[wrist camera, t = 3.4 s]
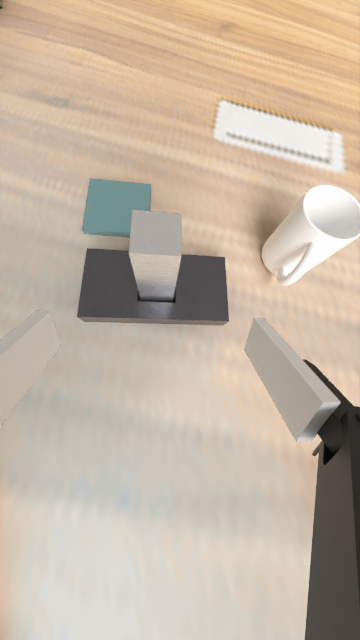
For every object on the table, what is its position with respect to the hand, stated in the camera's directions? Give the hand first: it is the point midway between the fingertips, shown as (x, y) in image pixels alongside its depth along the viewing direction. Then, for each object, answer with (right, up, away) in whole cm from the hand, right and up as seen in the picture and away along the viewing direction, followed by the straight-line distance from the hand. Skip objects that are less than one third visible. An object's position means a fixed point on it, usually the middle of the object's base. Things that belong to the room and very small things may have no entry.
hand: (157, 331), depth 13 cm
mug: (+18, +10, +20) cm, 29 cm away
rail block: (-2, +5, +16) cm, 17 cm away
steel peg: (-2, +5, +16) cm, 17 cm away
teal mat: (-9, +19, +19) cm, 28 cm away
